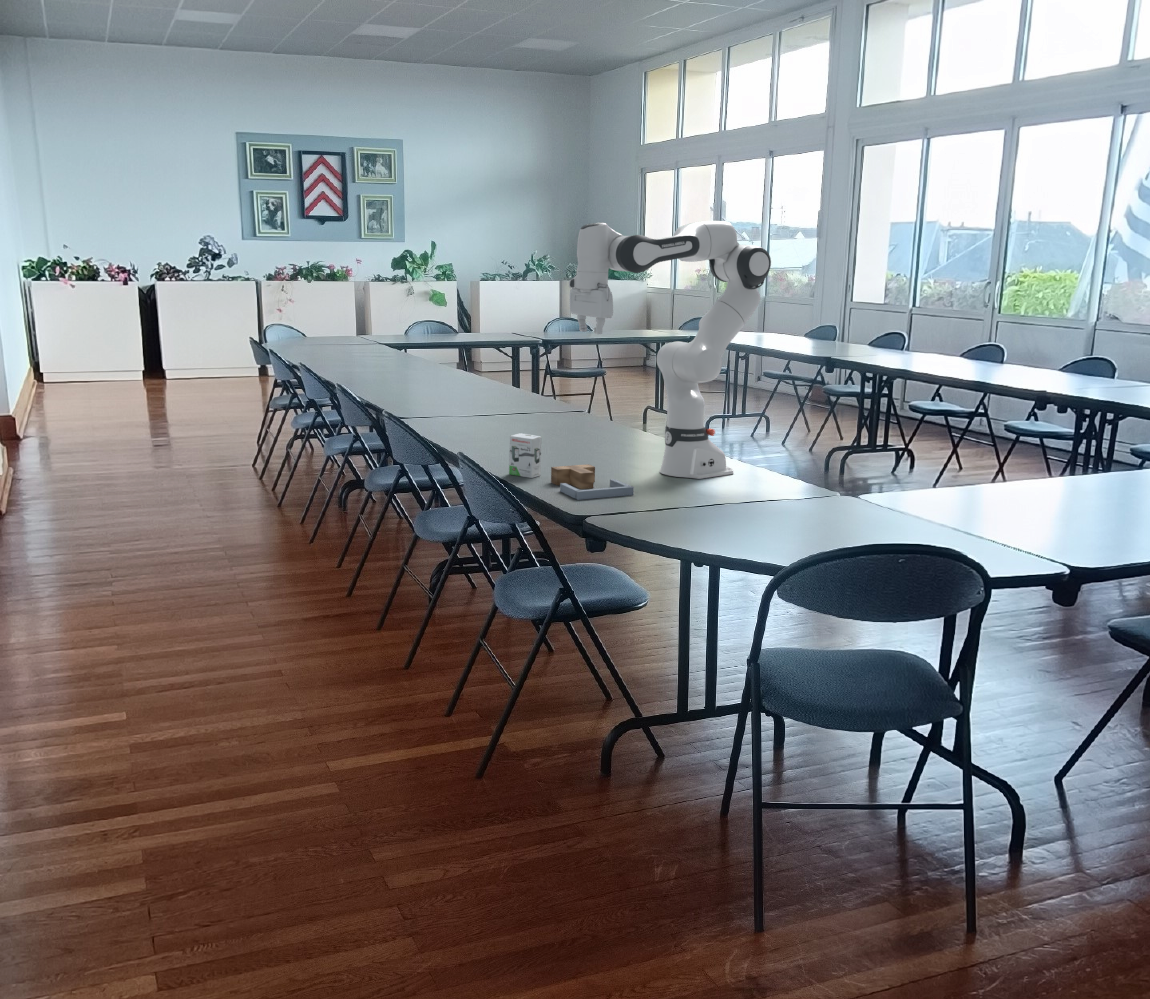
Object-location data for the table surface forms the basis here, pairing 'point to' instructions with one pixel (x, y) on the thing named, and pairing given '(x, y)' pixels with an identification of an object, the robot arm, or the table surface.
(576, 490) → the bay fence
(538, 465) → the ink box
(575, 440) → the table surface
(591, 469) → the t block
